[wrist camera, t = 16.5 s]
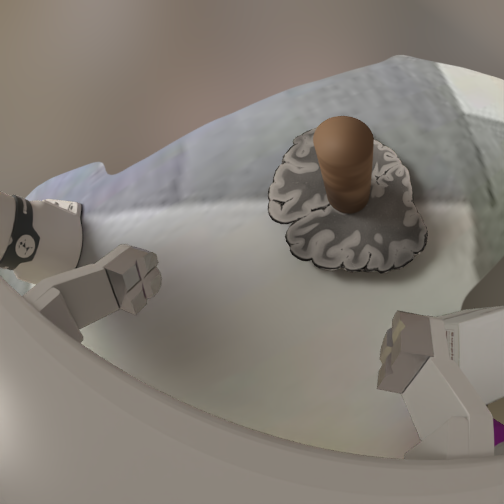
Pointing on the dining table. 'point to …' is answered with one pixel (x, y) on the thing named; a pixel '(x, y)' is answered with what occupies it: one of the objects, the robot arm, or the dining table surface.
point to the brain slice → (347, 225)
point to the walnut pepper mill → (345, 161)
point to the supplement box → (478, 348)
